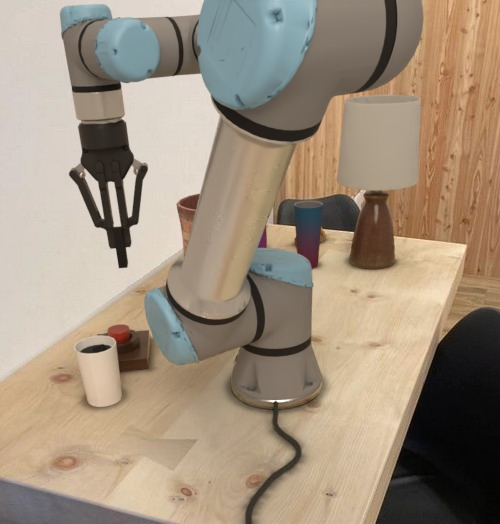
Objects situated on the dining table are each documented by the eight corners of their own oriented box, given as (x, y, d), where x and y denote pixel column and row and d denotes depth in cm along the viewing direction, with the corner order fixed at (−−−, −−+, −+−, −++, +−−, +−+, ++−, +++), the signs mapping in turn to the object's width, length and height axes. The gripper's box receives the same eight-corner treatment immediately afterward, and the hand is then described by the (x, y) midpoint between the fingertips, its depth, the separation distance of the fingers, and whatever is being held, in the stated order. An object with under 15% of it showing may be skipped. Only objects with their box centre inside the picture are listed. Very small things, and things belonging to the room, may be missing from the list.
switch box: (148, 369, 115) (145, 349, 113) (92, 373, 114) (88, 353, 112) (150, 340, 125) (147, 321, 123) (99, 344, 124) (95, 325, 122)
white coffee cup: (91, 387, 110) (81, 335, 105) (129, 388, 109) (121, 335, 104) (79, 407, 104) (67, 353, 99) (118, 408, 103) (109, 354, 98)
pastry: (308, 249, 168) (308, 235, 167) (287, 245, 172) (287, 231, 170) (328, 240, 174) (328, 226, 172) (308, 236, 178) (308, 222, 176)
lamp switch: (130, 342, 116) (128, 332, 115) (108, 344, 116) (106, 334, 115) (131, 333, 119) (130, 323, 118) (110, 335, 119) (108, 325, 118)
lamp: (322, 255, 164) (326, 98, 144) (387, 246, 168) (399, 92, 149) (354, 279, 148) (363, 107, 129) (424, 268, 153) (443, 100, 134)
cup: (326, 262, 159) (327, 202, 151) (313, 271, 154) (314, 209, 146) (302, 258, 162) (302, 199, 154) (289, 267, 157) (288, 205, 150)
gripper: (143, 114, 103) (160, 255, 115) (62, 119, 102) (88, 261, 114) (142, 120, 97) (160, 269, 109) (56, 126, 96) (83, 275, 108)
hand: (123, 265), depth 112 cm, fingers closed
